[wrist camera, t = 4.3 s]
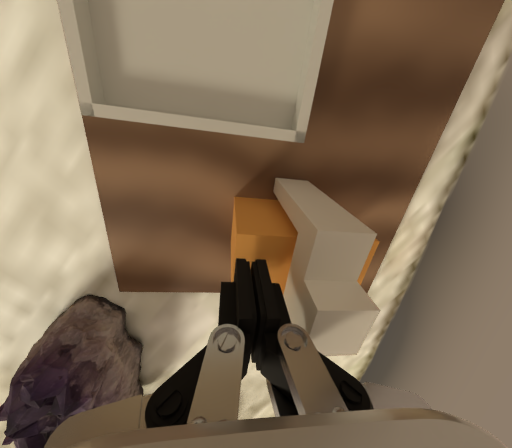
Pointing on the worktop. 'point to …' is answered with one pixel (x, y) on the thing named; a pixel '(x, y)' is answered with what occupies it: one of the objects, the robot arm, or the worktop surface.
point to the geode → (72, 371)
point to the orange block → (268, 237)
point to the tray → (199, 62)
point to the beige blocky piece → (326, 269)
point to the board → (293, 145)
